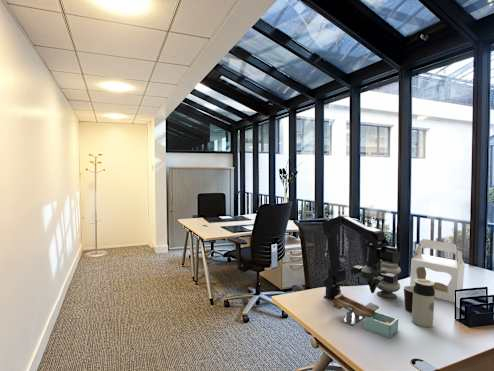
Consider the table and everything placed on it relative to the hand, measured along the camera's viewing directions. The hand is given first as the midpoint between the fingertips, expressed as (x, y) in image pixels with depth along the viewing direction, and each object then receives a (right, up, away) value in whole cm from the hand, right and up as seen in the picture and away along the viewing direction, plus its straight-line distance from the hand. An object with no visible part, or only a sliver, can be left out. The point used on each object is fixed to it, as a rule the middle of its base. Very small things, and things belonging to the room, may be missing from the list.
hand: (372, 292), depth 143 cm
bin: (-2, -11, -13) cm, 17 cm away
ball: (0, -9, -15) cm, 17 cm away
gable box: (+45, -10, +28) cm, 54 cm away
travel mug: (+19, -11, -6) cm, 23 cm away
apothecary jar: (+17, -9, +24) cm, 30 cm away
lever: (-8, -7, -1) cm, 11 cm away
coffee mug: (+23, -11, +7) cm, 26 cm away
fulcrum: (-10, -10, -5) cm, 15 cm away
